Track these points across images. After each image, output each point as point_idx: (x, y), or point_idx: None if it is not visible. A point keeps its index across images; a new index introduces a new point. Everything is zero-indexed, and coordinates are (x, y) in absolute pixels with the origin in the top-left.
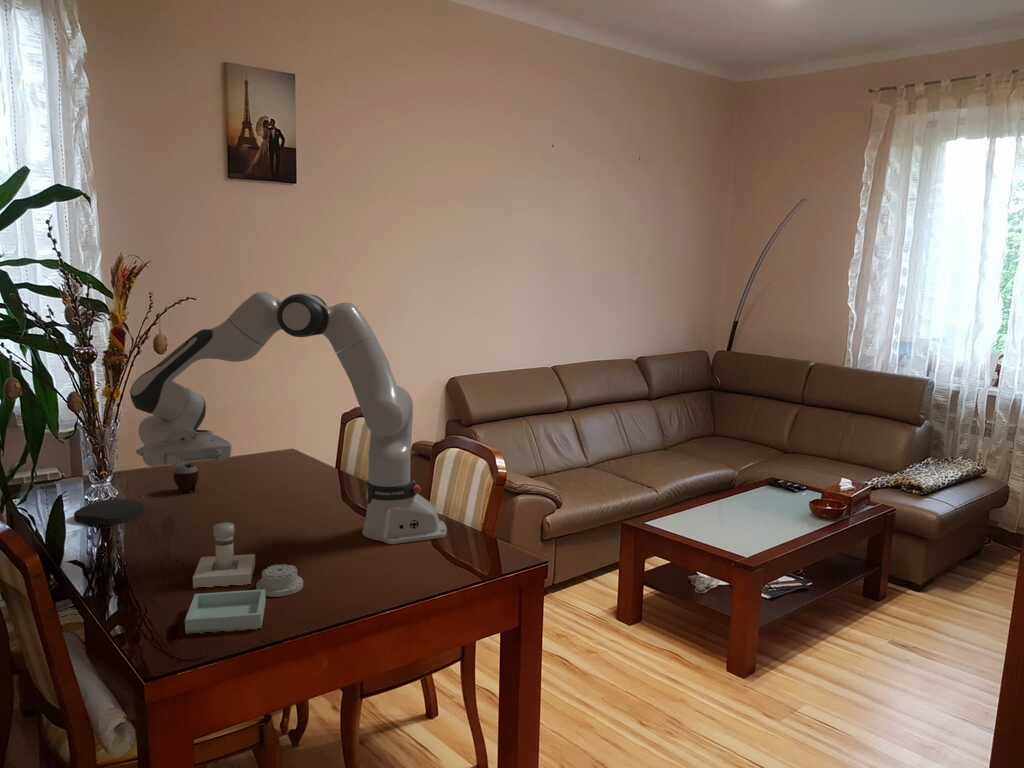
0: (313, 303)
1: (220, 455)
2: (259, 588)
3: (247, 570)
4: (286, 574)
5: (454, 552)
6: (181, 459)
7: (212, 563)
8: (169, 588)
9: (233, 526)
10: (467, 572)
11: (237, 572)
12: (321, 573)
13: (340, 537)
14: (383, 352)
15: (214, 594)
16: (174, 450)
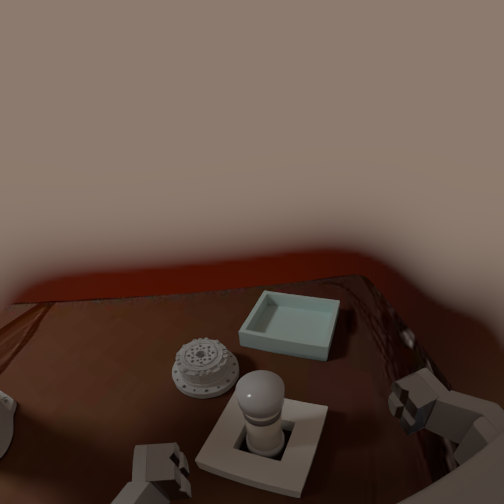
0: None
1: (155, 444)
2: (237, 363)
3: (235, 400)
4: (200, 340)
5: (10, 349)
6: (411, 375)
7: (285, 453)
8: (362, 428)
9: (240, 379)
10: (46, 316)
11: None
12: (136, 384)
13: (27, 472)
14: None
15: (303, 340)
16: (486, 450)
